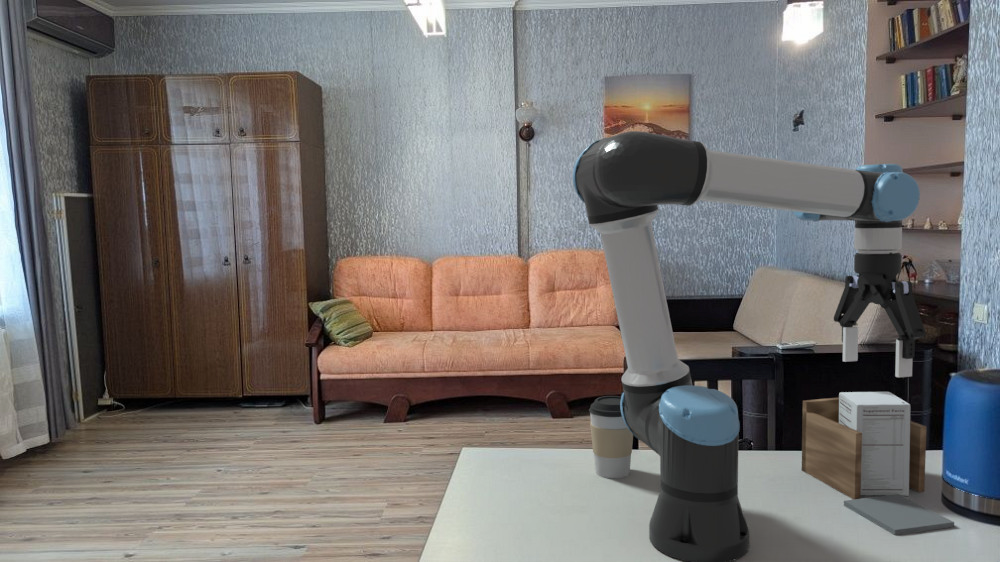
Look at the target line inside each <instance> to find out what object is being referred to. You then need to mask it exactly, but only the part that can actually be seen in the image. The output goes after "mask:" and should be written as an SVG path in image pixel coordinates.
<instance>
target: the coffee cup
mask: <svg viewBox="0 0 1000 562" xmlns="http://www.w3.org/2000/svg"><path fill="white" fill-rule="evenodd" d="M620 401H621V396H618V395H606V396H605V395H603V396H599V397H597V398H595V399H594V402H592V403H591V404H590V408H589V409H588V412H589V414H590V423H589V425H590V434H591V443H592V452H593V456H594V457H593V458H594V466H595V467H594V469H595V470H594V471H595V474H596V475H598V476H599V477H602V478H606V479H623V478H626V477H628V476H629V475H630V473H631V458H632V452H633V444H634V443H633V442H634V435H633V434H632V433H631V431H630V430H629V429H628V427H627V426H626V424H625V422H624V420H623V418H622V415H621V409H620Z"/></svg>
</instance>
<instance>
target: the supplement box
mask: <svg viewBox="0 0 1000 562" xmlns="http://www.w3.org/2000/svg"><path fill="white" fill-rule="evenodd" d="M838 398H839V423H840V424H842V425H844V426H847V427H849V428H851V429H854V430H856V431H859V432H861V433H862V457H861V496H887V495H895V494H899V495H901V496H903V497H906V496H910V488H909V459H910V421H911V404H910V403H908V402H907V401H905V400H903V399H902V398H901V397H898V396H897V395H895V394H894V393H892V392H890V391H852V392H851V391H848V392H847V391H845V392H844V391H841V392H839V394H838Z"/></svg>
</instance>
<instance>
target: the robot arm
mask: <svg viewBox="0 0 1000 562" xmlns="http://www.w3.org/2000/svg"><path fill="white" fill-rule="evenodd" d="M903 171H904V170H903V167H902V166H901V165H900V164H897V163H880V164H879V163H876V164H863V165H859V166H858V167H856V169H853V168H845V167H837V166H830V165H823V164H816V163H809V162H801V161H793V160H785V159H778V158H773V157H771V158H770V157H764V156H763V157H761V156H756V155H748V154H742V153H741V154H740V153H732V152H727V151H726V152H724V151H720V150H719V151H718V150H711V149H708V148H707V146H706V144H705V143H703V142H701V141H697V140H688V139H683V138H678V137H674V136H668V135H664V134H663V135H662V134H658V133H652V132H647V131H639V130H638V131H637V130H633V131H626V132H621V133H618V134H616V135H613V136H610V137H603V138H601V139H597V140H595V141H594V142H592V143H591V144H589V145H588V146H587V147H586V148H585V149H583V150H582V152H581V153H580V154H579V156H578V157H577V158H576V161H575V163H574V166H573V170H572V184H573V188H574V191H575V192H576V194H577V196H578V197H579V199H580V200H581V202H583V203H584V206H585V210H586V215H587V220H588V224H589V226H590V227H591V228H592V229H594V230H595V231H597V232H598V233H599V234H600V238H601V242H602V243H601V244H602V248H603V252H604V257H605V263H606V267H607V272H608V276H609V277H608V278H609V283H610V286H611V287H610V288H611V291H612V295H613V302H614V306H615V310H616V311H615V312H616V315H617V321H618V326H619V331H620V335H621V340H622V346H623V350H624V355H625V358H626V360H625V361H626V365H627V369H626V370H625V371H624V373H623V375H622V376H621V384H622V389H623V392H622V393H621V396H620V397H621V401H620V409H621V415H622V418H623V420H624V422H625V424H626V426H627V427H628V429H629V430H630V431H631V433H632V434H633V437H635V438H636V439H637V440H638V441H640V442H641V443H643V444H645V445H646V446H647V447H648V448H650V450H652V451H653V452H655V454H657V455H658V456H659V459H660V460H659V461H660V462H659V463H660V472H659V473H660V474H659V475H660V476H659V477H660V487H659V488H660V491H659V494H658V496H657V500H656V502H655V505H654V508H653V511H652V515H651V517H650V520H649V524H648V525H649V526H648V527H649V528H648V530H649V531H648V532H649V534H648V535H649V536H648V537H649V542H650V543H651V545H652V546H653V547H654V548H655V549H657V550H658V551H660V552H661V553H662V554H665V555H667V556H670V557H672V558H675V559H678V560H681V561H686V562H731V561H735V560H738V559H740V558H742V557H743V556H745V555H746V554H747V553H748V552H749V550H750V530H749V527H748V523H747V521H746V520H747V519H746V517H745V515H744V511H743V508H742V505H741V501H740V500H739V494H738V492H739V489H738V488H739V432H740V428H741V426H740V420H739V411H738V406H737V404H736V402H735V401H734V399H733V398H732V397H730V395H728V394H727V393H726V392H725V393H724V392H723V391H721V390H719V389H715V388H708V387H707V386H702V385H700V386H699V385H693V382H692V377H691V371H690V367H689V365H687V364H686V363H685V362H683V361H681V360H680V359H679V358H678V352H677V347H676V341H675V338H674V331H673V327H672V322H671V318H670V317H671V316H670V311H669V307H668V302H667V297H666V291H665V286H664V282H663V276H662V271H661V265H660V261H659V256H658V250H657V245H656V240H655V235H654V230H653V224H652V223H653V220H654V219H655V217H656V216H657V214H658V213H659V205H660V206H661V205H665V206H666V205H677V206H678V205H679V206H686V207H687V206H688V207H690V206H694V205H695V204H697V203H698V202H700V201H702V202H712V203H720V204H728V205H736V206H737V205H739V206H745V207H747V206H748V207H753V208H754V207H755V208H762V209H763V208H765V209H770V210H772V209H773V210H779V211H789V212H790V211H791V212H792V214H793V215H794V216H795V217H796V219H799V220H800V221H805V222H806V221H809V222H811V221H813V222H818V221H819V222H820V221H854V239H853V240H854V243H853V246H854V247H853V248H854V250H856V251H857V252H856V253H855V254H854V257H853V258H854V261H853V262H854V265H853V266H854V267H853V270H854V273H855V274H857V275H846V277H845V283H844V288H843V291H842V294H841V296H840V299H839V302H838V305H837V307H836V309H835V310H836V311H835V313H834V316H833V322H835V323H839V326H840V327H841V341H842V342H841V343H842V362H845V363H846V362H857V361H858V359H859V354H858V353H859V327H858V323H857V322H858V320H859V319H860V318H861V316H862V315H863V314H864V312H865V310H866V309H867V307H868V306H869V305H870V303H871V304H874V305H879V306H880V307H881V308H882V309H884V311H885V312H886V314H887V316H888V318H889V320H890V322H891V323H892V325H893V327H894V329H895V331H896V332H897V333H896V334H898V336H899V337H897V338H896V340H895V369H894V370H895V374H894V376H895V377H896V378H907V377H908V378H909V377H910V378H911V377H913V359H915V355H916V353H915V350H916V349H915V347H916V340H917V339H920V338H925V337H926V336H927V333H926V330H925V327H924V324H923V321H922V318H921V316H920V312H919V309H918V306H917V303H916V300H915V297H914V294H913V284H912V282H911V281H910V280H905V281H898V279H897V276H898V275H899V274H901V273H902V265H903V264H902V261H903V259H902V255H903V254H901V252H898V251H900V250H902V248H903V246H902V244H903V220H906V219H908V218H909V217H910V216H911V215H913V214H914V212H915V211H916V209H917V208H918V207H919V203H920V196H921V193H920V187H919V186H920V185H918V182H917V181H916V179H915V178H914V177H913V176H911V175H910V174H908V173H906V172H903Z"/></svg>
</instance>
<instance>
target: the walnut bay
mask: <svg viewBox="0 0 1000 562" xmlns="http://www.w3.org/2000/svg"><path fill="white" fill-rule="evenodd" d="M801 421H802V427H801V429H802V431H801V471H802V472H804V473H806V475H807V474H808V475H809V476H811V477H812V478H815V479H816V480H818V481H820V482H821V483H823V484H825V485H827V486H829V487H831V488H833V490H834V489H835V490H836V491H838V492H839V493H841V494H843V495H846V496H847V497H849V498H850V499H851V500H854V499H862V498H861V497H862V495H861V457H862V433H861V432H859V431H856V430H854V429H851V428H849V427H847V426H844V425H842V424H840V423H839V397H829V398H818V399H807V400H802V419H801ZM926 449H927V426H926V425H924V424H921V423H918V422H915V421H912V420H910V459H909V489H912V490H913V491H915V492H918V493H923V492H925V488H926V487H925V484H926V483H925V480H926V457H927V456H926V453H927V450H926Z"/></svg>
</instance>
